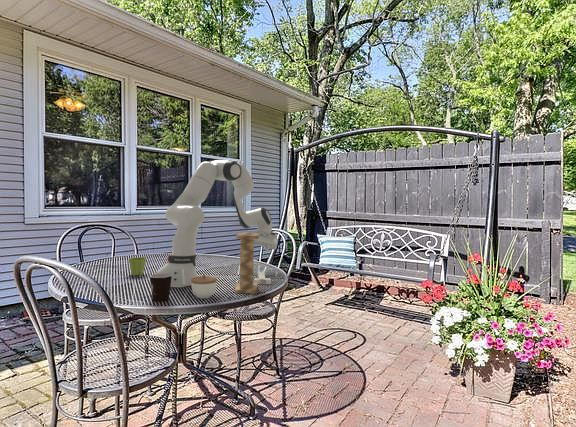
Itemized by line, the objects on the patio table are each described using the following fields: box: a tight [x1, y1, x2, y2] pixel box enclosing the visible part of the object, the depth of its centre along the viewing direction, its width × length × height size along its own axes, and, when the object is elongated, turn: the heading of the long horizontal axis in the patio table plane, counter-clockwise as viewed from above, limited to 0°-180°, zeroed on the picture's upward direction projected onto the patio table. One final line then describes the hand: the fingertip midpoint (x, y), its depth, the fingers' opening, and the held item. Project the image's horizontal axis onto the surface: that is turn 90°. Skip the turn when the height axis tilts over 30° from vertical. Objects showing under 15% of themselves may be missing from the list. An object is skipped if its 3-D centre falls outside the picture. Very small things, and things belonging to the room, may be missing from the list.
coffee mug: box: [149, 273, 172, 303], centre depth 151 cm, size 12×9×10 cm
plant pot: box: [127, 257, 148, 276], centre depth 197 cm, size 9×9×9 cm
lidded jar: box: [190, 274, 218, 299], centre depth 156 cm, size 11×11×9 cm
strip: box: [253, 271, 272, 285], centre depth 192 cm, size 8×20×2 cm, turn 6°
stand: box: [234, 232, 258, 294], centre depth 169 cm, size 10×12×26 cm
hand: (257, 247), depth 203 cm, fingers open, 8 cm apart
